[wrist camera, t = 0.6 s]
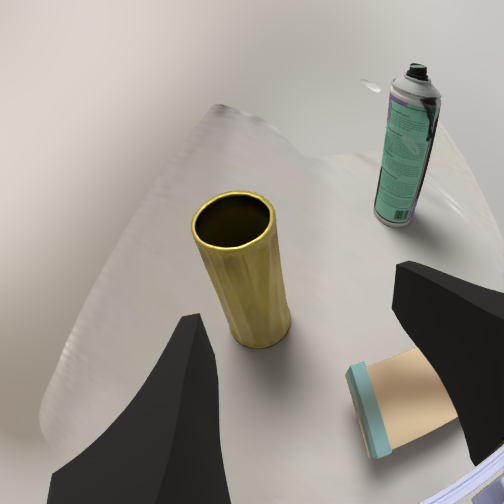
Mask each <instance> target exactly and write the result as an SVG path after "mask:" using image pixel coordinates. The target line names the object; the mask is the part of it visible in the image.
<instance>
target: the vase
mask: <svg viewBox="0 0 504 504" xmlns="http://www.w3.org/2000/svg"><path fill="white" fill-rule="evenodd" d="M191 232H192V235H193V237H194V240H195V242H196V245H197V247H198V249H199V251H200V254H201V257H202V259H203V262H204V265H205V267H206V269H207V271H208V274H209V276H210V279H211V281H212V283H213V285H214V288H215V290H216V292H217V295H218V297H219V300H220V302H221V305H222V308H223V311H224V313H225V316H226V319H227V321H228V323H229V327H230V330H231V333H232V335H233V336H234V338H235V339H236V340H237V341H238V342H240V343H241V344H243V345H245V346H248V347H252V348H265V347H269V346H272V345H274V344H276V343H277V342H279V341H280V340H281V339H282V338H283V337H284V336H285V334H286V333H287V330H288V328H289V326H290V321H291V318H290V311H289V308H288V305H287V301H286V295H285V289H284V283H283V276H282V270H281V262H280V252H279V244H278V235H277V227H276V215H275V210H274V208H273V206H272V204H271V203H270V202H269V201H268V200H267V199H266V198H264V197H263V196H261V195H259V194H257V193H253V192H249V191H230V192H226V193H222V194H219V195H217V196H215V197H213V198H211V199H210V200H208V201H207V202H205V203H204V204H203V205H202V206H201V207H200V208H199V209H198V210H197V211H196V213H195V214H194V216H193V218H192V222H191Z"/></svg>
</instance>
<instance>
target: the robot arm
mask: <svg viewBox="0 0 504 504" xmlns="http://www.w3.org/2000/svg"><path fill="white" fill-rule="evenodd" d="M392 310H393V311H394V313H395V315H396V317H397V319H398V320H399V322H400V324H401V325H402V327H403V329H404V330H405V331H406V333H407V334H408V335H409V337H410V338H411V339H412V341H413V342H414V343H415V345H416V346H417V347H418V348H419V350H420V351H421V352H422V354H423V355H424V356H425V358H426V359H427V360H428V362H429V363H430V364H431V366H432V367H433V368H434V370H435V371H436V373H437V374H438V376H439V378H440V380H441V381H442V383H443V385H444V387H445V389H446V391H447V393H448V395H449V397H450V399H451V401H452V403H453V406H454V408H455V410H456V412H457V415H458V418H459V420H460V423H461V426H462V428H463V431H464V435H465V438H466V442H467V445H468V449H469V454H470V458H471V460H472V462H473V464H474V465H475V466H477V465H478V464H480V463H481V462H482V461H484V460H485V459H486V458H487V457H489V456H490V455H491V454H492V453H494V452H495V451H496V450H497V449H498V448H500V447H501V446H502V445H503V444H504V293H502V292H498V291H494V290H490V289H487V288H484V287H481V286H478V285H475V284H472V283H469V282H467V281H464V280H461V279H459V278H456V277H454V276H451V275H448V274H446V273H443V272H441V271H438V270H436V269H433V268H430V267H428V266H425V265H422V264H419V263H416V262H412V261H406V262H403V263H400V264H396V274H395V285H394V294H393V302H392ZM502 467H504V446H502V447H501V448H500V449H499V450H498V451H497V452H495V453H494V454H493V455H492V456H490V457H489V458H488V459H487V460H485V461H484V462H483V463H482V464H480V465H479V466H478V467H476V468H475V469H474V470H472V471H471V472H469V473H468V474H467V475H465V476H464V477H462V478H461V479H459V480H458V481H456V482H455V483H453V484H452V485H450V486H448V487H447V488H445V489H444V490H442V491H440V492H439V493H437V494H435V495H434V496H432V497H430V498H428V499H427V500H425V501H423V502H421V503H419V504H455V503H456V502H458V501H459V500H461V499H462V498H464V497H465V496H467V495H468V494H469V493H471V492H472V491H474V490H475V489H476V488H478V487H479V486H480V485H482V484H483V483H484V482H485V481H487V480H488V479H489V478H490V477H492V476H493V475H494V474H495V473H496V472H498V471H499V470H500V469H501V468H502ZM472 502H473V504H504V473H503V474H502V475H500V476H499V477H498V478H496V479H495V480H494V481H492V482H491V483H490V484H489V485H487V486H486V487H485V488H483V489H482V490H481V491H480V492H479V493H477V494H476V495H475V496H474V497H473V498H472ZM47 504H231V501H230V496H229V492H228V487H227V481H226V476H225V471H224V465H223V459H222V452H221V446H220V432H219V389H218V375H217V367H216V360H215V354H214V352H213V349H212V346H211V344H210V341H209V338H208V336H207V333H206V330H205V327H204V325H203V322H202V319H201V316H200V313H198V314H193V315H188V316H182V317H181V319H180V321H179V323H178V324H177V326H176V328H175V330H174V332H173V334H172V336H171V338H170V340H169V342H168V344H167V346H166V347H165V349H164V351H163V353H162V355H161V356H160V358H159V360H158V362H157V364H156V365H155V367H154V368H153V370H152V372H151V373H150V375H149V376H148V378H147V380H146V381H145V383H144V384H143V386H142V387H141V389H140V390H139V392H138V393H137V394H136V396H135V397H134V398H133V400H132V401H131V402H130V404H129V405H128V406H127V407H126V409H125V410H124V411H123V412H122V413H121V414H120V415H119V417H118V418H117V419H116V420H115V421H114V422H113V423H112V424H111V425H110V426H109V428H108V429H107V430H106V431H105V432H104V433H103V434H102V435H101V436H100V437H99V438H98V439H97V440H95V441H94V442H93V443H92V444H91V445H90V446H89V447H88V448H86V449H85V450H84V451H83V452H82V453H81V454H79V455H78V456H77V457H75V458H74V459H73V460H71V461H70V462H69V463H67V464H66V465H65V466H63V467H62V468H60V469H59V470H58V471H56V472H55V473H53V474H52V478H51V482H50V488H49V494H48V499H47Z"/></svg>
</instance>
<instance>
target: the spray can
mask: <svg viewBox="0 0 504 504" xmlns="http://www.w3.org/2000/svg"><path fill="white" fill-rule="evenodd" d="M426 73H427V67H425V66H424V65H421V64H416V63H413V64H411V65H410V70H408V71H407V73H405V74H404V76H403V77H400V78H396V79H393V80H392V86H391V87H390V97H389V108H388V118H387V127H386V135H385V143H384V150H383V157H382V163H381V170H380V176H379V181H378V187H377V193H376V198H375V203H374V214H375V216H376V217H377V219H378V220H380V221H381V222H382V223H384V224H386V225H388V226H391V227H398V228H399V227H404V226H406V225H408V224H409V223H410V221H411V219H412V217H413V214H414V211H415V207H416V204H417V201H418V198H419V195H420V191H421V188H422V184H423V181H424V177H425V174H426V170H427V166H428V162H429V158H430V154H431V150H432V146H433V141H434V137H435V132H436V127H437V122H438V117H439V112H440V106H441V100H440V98H441V93H440V91H439V90H437V89H436V88H435V87H434V86H433V85H432V84H431V80H430V79H429V78H428V76H427V75H426Z"/></svg>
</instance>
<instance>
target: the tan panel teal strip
mask: <svg viewBox="0 0 504 504" xmlns="http://www.w3.org/2000/svg"><path fill="white" fill-rule="evenodd" d="M345 377H346V380H347V383H348V386H349V390H350V393H351V396H352V400H353V403H354V407H355V410H356V414H357V417H358V421H359V424H360V428H361V431H362V435H363V439H364V442H365V446H366V450H367V454H368V458H375V459H379V458H381V457H384V456H386V455H389V454H391V453H392V451H391V450H392V449H395V448H397V447H399V446H402V445H404V444H406V443H408V442H411V441H413V440H415V439H417V438H419V437H421V436H423V435H425V434H427V433H429V432H431V431H433V430H435V429H437V428H438V427H440V426H442V425H444V424H446V423H448V422H449V421H451V420H453V419H455V418H456V417H458V415H457V412H456V410H455V408H454V406H453V403H452V401H451V399H450V397H449V395H448V393H447V391H446V389H445V387H444V385H443V383H442V381H441V380H440V378H439V376H438V374H437V373H436V371H435V370H434V368H433V367H432V366H431V364H430V363H429V362H428V360H427V359H426V358H425V356H424V355H423V354H422V352H421V351H420V350H419V348H418V347H416V348H414V349H412V350H409V351H407V352H404V353H402V354H399V355H397V356H394V357H392V358H389V359H386V360H383V361H381V362H378V363H375V364H372V365H369V366H367V367H366V365H365V362H361V363H358V364H355V365H352V366H350V368H349V370H348V371H347V373H346V374H345Z"/></svg>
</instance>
